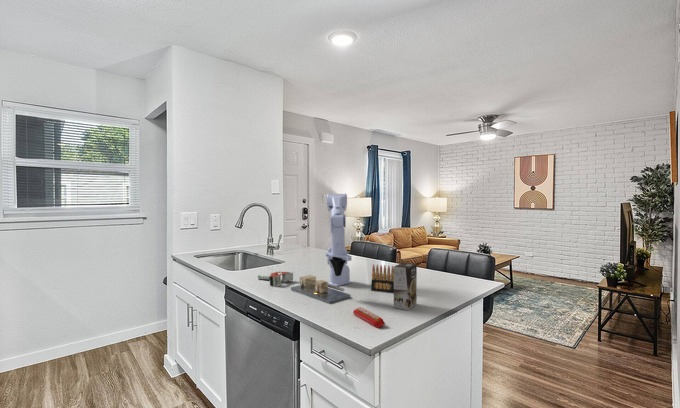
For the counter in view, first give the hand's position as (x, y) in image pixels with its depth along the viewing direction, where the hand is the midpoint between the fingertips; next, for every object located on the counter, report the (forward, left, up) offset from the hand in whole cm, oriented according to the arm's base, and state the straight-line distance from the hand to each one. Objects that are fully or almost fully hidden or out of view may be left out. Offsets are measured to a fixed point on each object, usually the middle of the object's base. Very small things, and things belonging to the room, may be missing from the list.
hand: (338, 275), depth 142 cm
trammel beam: (+1, -10, -8) cm, 13 cm away
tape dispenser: (+5, -41, -10) cm, 43 cm away
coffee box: (-12, +26, -10) cm, 30 cm away
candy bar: (+10, +26, -10) cm, 30 cm away
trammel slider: (+3, -8, -8) cm, 12 cm away
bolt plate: (+2, -10, -9) cm, 14 cm away
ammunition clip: (-21, +7, -10) cm, 24 cm away
